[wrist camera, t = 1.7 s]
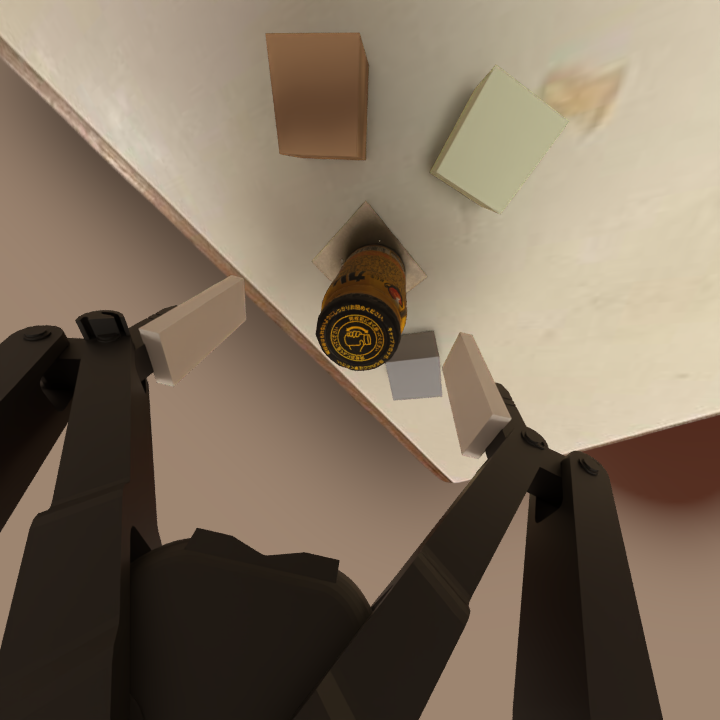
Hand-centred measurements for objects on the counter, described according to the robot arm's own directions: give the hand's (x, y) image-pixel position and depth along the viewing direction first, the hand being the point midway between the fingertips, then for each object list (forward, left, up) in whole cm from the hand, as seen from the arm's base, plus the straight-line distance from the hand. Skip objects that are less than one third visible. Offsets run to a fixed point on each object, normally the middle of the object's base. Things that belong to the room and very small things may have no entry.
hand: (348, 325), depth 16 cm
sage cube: (-10, +6, -11) cm, 16 cm away
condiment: (0, 0, -12) cm, 12 cm away
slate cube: (+8, +7, -11) cm, 16 cm away
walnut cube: (-10, -5, -11) cm, 16 cm away
